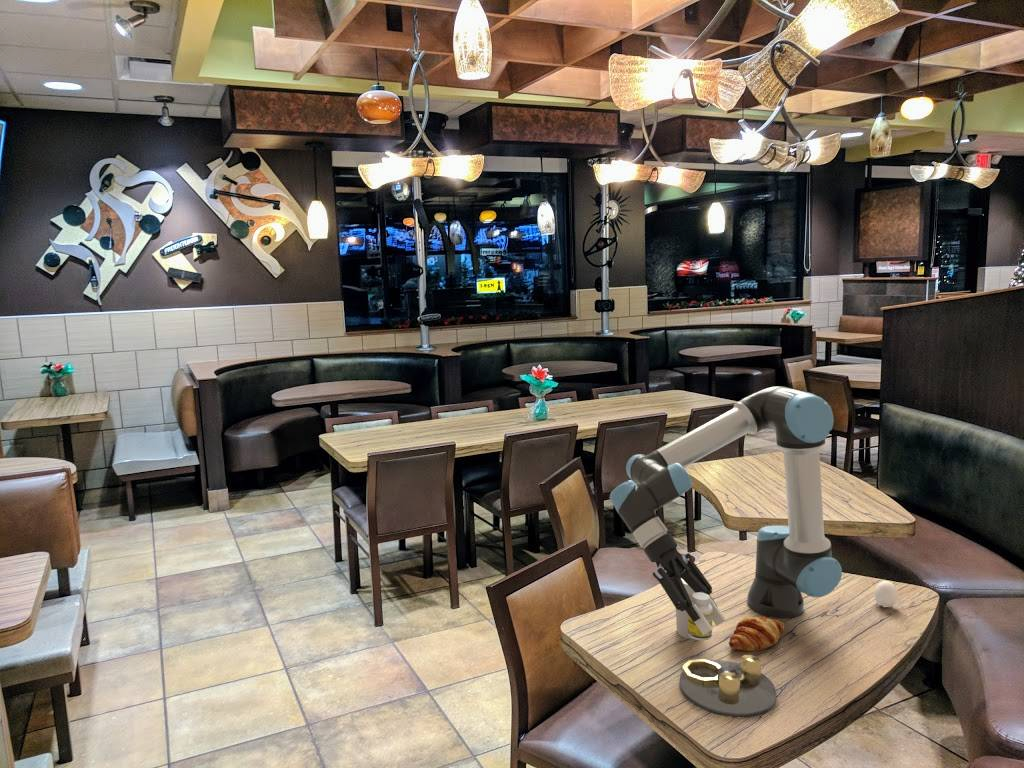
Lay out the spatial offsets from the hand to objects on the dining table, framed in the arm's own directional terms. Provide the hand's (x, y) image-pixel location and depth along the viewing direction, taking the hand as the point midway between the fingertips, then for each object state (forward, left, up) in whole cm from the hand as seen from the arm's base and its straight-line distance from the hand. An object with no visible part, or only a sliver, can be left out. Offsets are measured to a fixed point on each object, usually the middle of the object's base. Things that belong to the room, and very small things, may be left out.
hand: (714, 627), depth 170 cm
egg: (-65, -33, -14) cm, 74 cm away
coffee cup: (-4, -24, -14) cm, 29 cm away
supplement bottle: (+2, -3, -4) cm, 5 cm away
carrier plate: (-3, +3, -14) cm, 15 cm away
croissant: (-19, -18, -15) cm, 30 cm away
